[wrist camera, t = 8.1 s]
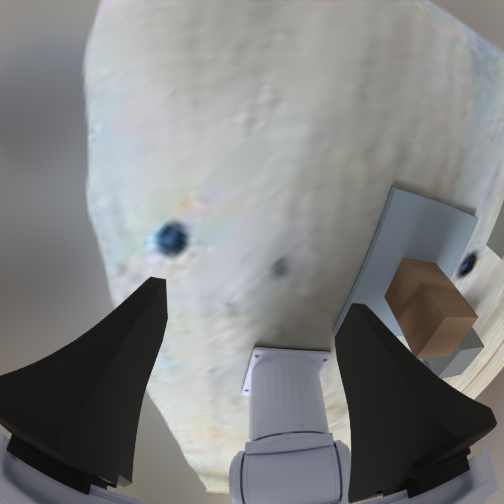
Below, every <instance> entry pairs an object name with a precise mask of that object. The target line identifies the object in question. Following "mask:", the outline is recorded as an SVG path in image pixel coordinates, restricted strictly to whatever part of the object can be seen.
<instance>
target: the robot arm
mask: <svg viewBox="0 0 504 504" xmlns="http://www.w3.org/2000/svg"><path fill="white" fill-rule="evenodd" d="M167 320H168V313H167V292H166V279H161V278H155V277H150V278H148V279H147V280H146V281H145V282H144V283H143V284H142V285H141V286H140V287H139V288H138V289H137V290H136V291H134V292H133V293H132V294H131V295H130V296H129V297H128V298H127V299H126V300H125V301H124V302H122V303H121V304H120V305H119V306H118V307H117V308H116V309H115V310H114V311H112V312H111V313H110V314H109V315H108V316H107V317H105V318H104V319H103V320H102V321H100V322H99V323H98V324H97V325H95V326H94V327H93V328H91V329H90V330H89V331H87V332H86V333H85V334H83V335H82V336H80V337H79V338H77V339H76V340H75V341H73V342H71V343H70V344H68V345H66V346H65V347H63V348H61V349H60V350H58V351H56V352H54V353H53V354H51V355H49V356H47V357H45V358H43V359H41V360H39V361H37V362H35V363H33V364H30V365H28V366H26V367H24V368H21V369H18V370H16V371H13V372H10V373H7V374H4V375H1V376H0V424H1V425H2V426H3V427H4V428H6V429H7V430H8V431H9V432H11V433H12V436H11V439H9V438H7V437H6V436H5V435H3V434H2V433H1V432H0V503H1V504H153V503H149V502H145V501H141V500H138V499H134V498H130V497H127V496H124V495H121V494H117V493H115V492H112V491H109V490H107V485H108V486H111V487H113V488H116V487H117V485H119V486H123V487H125V486H127V485H130V484H131V483H132V472H133V459H134V450H135V441H136V434H137V428H138V421H139V416H140V410H141V406H142V401H143V397H144V393H145V389H146V386H147V383H148V380H149V378H150V375H151V372H152V369H153V366H154V363H155V361H156V358H157V355H158V352H159V349H160V347H161V344H162V341H163V337H164V333H165V328H166V324H167ZM335 347H336V356H337V362H338V366H339V370H340V374H341V379H342V383H343V387H344V391H345V395H346V400H347V404H348V410H349V418H350V429H351V454H350V450H349V448H348V446H347V445H346V444H344V443H343V442H342V441H341V440H337V441H333V434H332V433H329V429H328V423H327V417H326V410H325V404H324V399H323V393H322V387H321V382H320V374H321V373H322V371H323V369H324V368H325V366H326V365H327V363H328V361H329V360H330V358H331V353H330V352H325V351H303V350H288V349H275V348H264V347H256V348H254V349H253V352H252V355H251V359H250V363H249V366H248V370H247V373H246V377H245V381H244V384H243V388H242V391H241V395H243V396H250V405H249V438H250V442H246V443H245V451H239V452H238V453H237V455H236V456H235V457H234V458H233V459H232V462H231V465H230V471H229V490H230V496H231V499H232V502H233V504H352V503H354V502H358V501H362V500H367V499H370V498H374V497H377V496H381V495H383V497H381V498H378V499H374V500H371V501H367V502H363V503H359V504H484V503H485V502H486V501H487V500H488V499H489V498H491V497H492V496H493V495H494V494H496V493H497V492H498V490H499V487H498V483H497V480H496V475H495V471H494V467H493V464H492V461H491V458H490V454H489V451H488V450H487V449H486V450H485V451H483V452H481V453H480V454H478V455H476V456H475V457H473V458H471V459H470V460H467V455H469V454H470V452H471V451H470V448H469V447H470V446H471V445H473V444H474V443H475V442H477V441H478V440H480V439H481V438H482V437H484V436H485V435H486V434H488V433H489V432H490V431H491V430H493V428H495V427H496V424H497V422H496V419H495V417H494V414H493V412H492V410H491V408H489V407H487V406H485V405H483V404H481V403H479V402H477V401H474V400H473V399H471V398H469V397H468V396H466V395H464V394H462V393H461V392H459V391H458V390H456V389H455V388H453V387H452V386H450V385H449V384H447V383H446V382H445V381H443V380H442V379H441V378H439V377H438V376H437V375H436V374H434V373H433V372H432V371H431V370H430V369H429V368H427V367H426V366H425V365H424V364H423V363H422V362H421V361H420V360H418V359H417V358H416V357H415V356H414V355H413V354H412V353H411V352H410V351H409V350H408V349H407V348H406V347H405V346H404V345H403V344H402V342H401V341H400V340H399V339H398V338H397V337H396V336H395V335H394V334H393V333H392V332H391V331H390V330H389V328H388V327H387V326H386V325H385V324H384V323H383V322H382V321H381V320H380V319H379V318H378V316H377V315H376V314H375V313H374V312H373V311H372V310H371V309H370V308H369V307H368V306H367V305H366V304H359V303H352V304H351V306H350V308H349V310H348V312H347V314H346V316H345V318H344V320H343V322H342V324H341V326H340V328H339V330H338V332H337V334H336V336H335Z"/></svg>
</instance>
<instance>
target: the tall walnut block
mask: <svg viewBox="0 0 504 504" xmlns="http://www.w3.org/2000/svg"><path fill="white" fill-rule="evenodd" d="M384 298H385V300H386V301H387V303H388V305H389V307H390V309H391V311H392V313H393V315H394V317H395V319H396V321H397V323H398V325H399V327H400V329H401V331H402V333H403V335H404V337H405V339H406V341H407V343H408V345H409V347H410V349H411V352H412V354H413V355H414V356H415V357H416V358H417V359H421V358H432V357H441V356H449V355H450V354H451V353H452V352H453V351H454V349H455V348H456V347H457V346H458V344H459V343H460V342H461V340H462V339H463V338H464V336H465V335H466V334H467V332H468V331H469V330H470V328H471V327H472V325H473V324H474V323H475V321H476V320H477V318H478V316H477V315H476V314H475V312H474V311H473V309H472V308H471V307H470V305H469V304H468V303H467V301H466V300H465V299H464V297H463V296H462V295H461V293H460V292H459V291H458V290H457V288H456V287H455V286H454V284H453V283H452V282H451V281H450V279H449V278H448V277H447V276H446V275H445V273H444V272H443V271H442V270H441V269H440V267H439V266H438V265H437V264H436V263H431V262H425V261H420V260H414V259H409V258H403V259H402V261H401V263H400V265H399V267H398V269H397V271H396V274H395V276H394V278H393V280H392V282H391V284H390V286H389V288H388V290H387V292H386V294H385V296H384Z"/></svg>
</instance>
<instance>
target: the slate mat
mask: <svg viewBox="0 0 504 504" xmlns="http://www.w3.org/2000/svg"><path fill="white" fill-rule="evenodd" d="M477 221H478V218H477V217H476V216H474V215H472V214H469V213H467V212H464V211H462V210H459V209H457V208H454V207H452V206H449V205H446V204H444V203H441V202H438V201H436V200H433V199H430V198H427V197H424V196H421V195H418V194H415V193H412V192H409V191H406V190H403V189H400V188H397V187H393V186H392V187H391V191H390V194H389V197H388V200H387V203H386V206H385V209H384V212H383V214H382V217H381V220H380V223H379V226H378V228H377V231H376V234H375V236H374V239H373V241H372V244H371V247H370V249H369V252H368V254H367V257H366V259H365V261H364V264H363V266H362V269H361V271H360V273H359V276H358V278H357V280H356V283H355V285H354V287H353V289H352V292H351V294H350V296H349V298H348V300H347V302H346V305H345V307H344V309H343V311H342V313H341V315H340V317H339V319H338V321H337V323H336V325H335V327H334V329H333V331H334V334H337V332H338V330H339V328H340V326H341V324H342V322H343V320H344V318H345V316H346V314H347V312H348V310H349V308H350V306H351V304H352V303H359V304H366V305H367V306H368V307H369V308H370V309H371V310H372V311H373V312H374V313H375V314H376V315H377V316H378V318H379V319H380V320H381V321H382V322H383V323H384V324H385V325H386V326H387V327H388V328H389V330H390V331H391V332H392V333H393V334H394V335H395V336H404V335H403V333H402V331H401V329H400V327H399V325H398V323H397V321H396V319H395V317H394V315H393V313H392V311H391V309H390V307H389V305H388V303H387V301H386V300H385V298H384V296H385V294H386V292H387V290H388V288H389V286H390V284H391V282H392V280H393V278H394V276H395V274H396V271H397V269H398V267H399V265H400V263H401V261H402V259H403V258H409V259H414V260H420V261H425V262H431V263H436V264H437V265H438V266H439V267H440V269H441V270H442V271H443V272H444V273H445V275H446V276H447V277H448V278H449V279H450V278H451V276H452V275H453V273H454V271H455V269H456V267H457V265H458V263H459V261H460V259H461V257H462V255H463V253H464V251H465V248H466V246H467V244H468V242H469V240H470V237H471V235H472V233H473V230H474V228H475V226H476V223H477Z"/></svg>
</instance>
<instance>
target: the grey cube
mask: <svg viewBox="0 0 504 504" xmlns="http://www.w3.org/2000/svg"><path fill="white" fill-rule="evenodd" d="M483 348H484V345H483V343H482V342H481V340H480V339H479V337H478V335H477V334H476V332H475V331H474V329H473V328H472V327H471V328H470V330H469V331H468V332H467V334H466V335H465V336H464V338H463V339H462V340H461V342H460V343H459V344H458V346H457V347H456V348H455V349H454V351H453V352H452V353H451V354H450V355H449V356H441V357H432V358H426V360H427V362H428V364H429V366H430V369H431V371H432V372H433V373H434V374H436V375H437V376H438V377H439V378H441V379H442V378H447V377H452V376H456V375H461V374H462V372H463V371H464V370H465V369H466V368H467V367H468V366H469V365H470V364H471V362H472V361H473V360H474V359H475V358H476V357H477V355H478V354H479V353H480V352H481V350H482V349H483Z"/></svg>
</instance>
